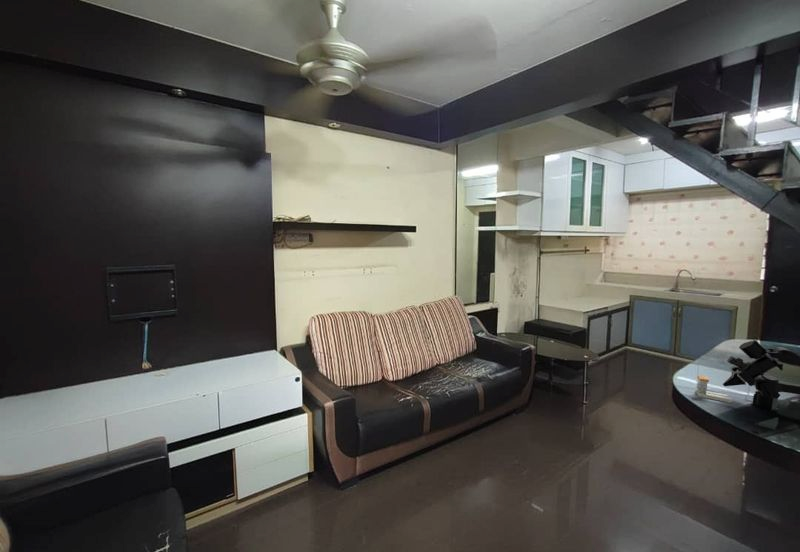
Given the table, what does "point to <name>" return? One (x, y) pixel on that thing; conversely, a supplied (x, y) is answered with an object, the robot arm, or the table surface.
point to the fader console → (714, 396)
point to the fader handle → (702, 383)
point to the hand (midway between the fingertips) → (723, 385)
